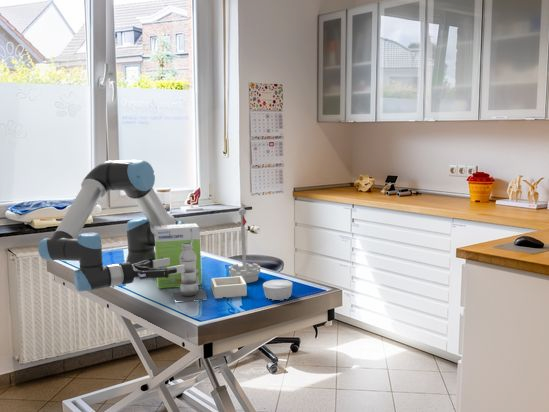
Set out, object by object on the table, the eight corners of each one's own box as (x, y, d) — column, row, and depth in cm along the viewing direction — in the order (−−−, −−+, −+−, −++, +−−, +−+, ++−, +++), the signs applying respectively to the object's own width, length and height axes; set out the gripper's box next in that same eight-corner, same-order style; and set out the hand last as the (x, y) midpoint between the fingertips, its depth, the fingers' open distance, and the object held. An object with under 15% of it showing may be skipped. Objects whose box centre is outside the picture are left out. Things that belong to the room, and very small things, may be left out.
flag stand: (225, 277, 247) (222, 207, 242) (254, 273, 251) (251, 204, 247) (234, 285, 235) (231, 211, 230) (265, 281, 239) (262, 208, 235)
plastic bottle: (181, 293, 224) (178, 242, 221) (198, 292, 224) (196, 241, 221) (179, 298, 217) (177, 245, 214) (198, 297, 218) (195, 245, 215)
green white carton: (198, 278, 246) (196, 222, 242) (202, 285, 236) (199, 226, 232) (156, 282, 241) (153, 225, 238) (158, 289, 231) (154, 229, 228)
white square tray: (215, 298, 218) (214, 286, 217) (211, 289, 229) (211, 278, 229) (246, 295, 220) (246, 284, 220) (241, 286, 232) (241, 275, 231)
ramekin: (270, 303, 210) (269, 289, 210) (258, 295, 220) (258, 281, 220) (298, 299, 215) (297, 285, 214) (285, 291, 225) (285, 277, 224)
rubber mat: (174, 302, 214) (174, 301, 214) (173, 293, 225) (173, 292, 225) (207, 300, 216) (207, 298, 216) (204, 290, 228) (204, 289, 228)
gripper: (110, 277, 216) (164, 268, 227) (132, 292, 195) (191, 282, 206) (108, 257, 215) (163, 249, 226) (131, 270, 194) (190, 261, 205)
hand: (176, 264), depth 216 cm, fingers open, 13 cm apart
